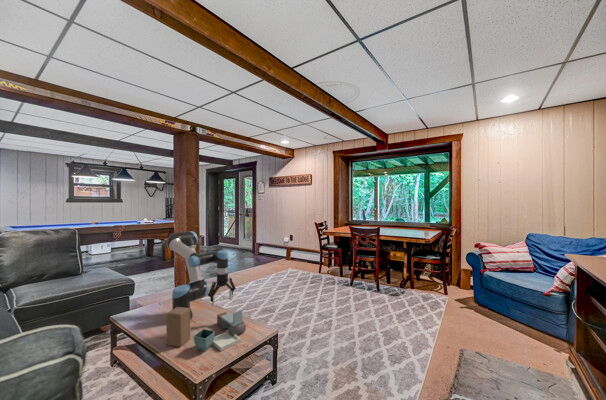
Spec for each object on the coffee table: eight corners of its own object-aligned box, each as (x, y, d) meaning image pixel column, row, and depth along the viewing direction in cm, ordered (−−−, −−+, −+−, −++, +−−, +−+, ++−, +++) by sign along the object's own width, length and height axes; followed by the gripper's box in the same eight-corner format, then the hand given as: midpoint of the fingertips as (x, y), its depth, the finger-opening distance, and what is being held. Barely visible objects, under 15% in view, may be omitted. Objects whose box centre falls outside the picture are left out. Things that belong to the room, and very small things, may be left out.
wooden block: (180, 347, 153) (180, 314, 152) (165, 345, 155) (165, 313, 154) (191, 338, 163) (190, 307, 162) (177, 336, 165) (176, 306, 164)
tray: (210, 342, 158) (210, 338, 158) (229, 333, 168) (229, 330, 168) (220, 351, 149) (220, 347, 149) (240, 341, 159) (240, 338, 159)
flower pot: (205, 354, 146) (205, 338, 146) (193, 351, 149) (193, 336, 149) (215, 345, 155) (215, 331, 155) (203, 343, 158) (203, 328, 157)
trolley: (218, 327, 175) (218, 305, 175) (230, 323, 182) (230, 301, 182) (233, 338, 162) (233, 314, 162) (245, 333, 169) (245, 310, 168)
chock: (217, 324, 180) (217, 314, 180) (224, 321, 185) (224, 311, 184) (220, 327, 177) (220, 317, 177) (228, 323, 181) (228, 314, 181)
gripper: (207, 278, 168) (207, 310, 169) (240, 270, 186) (240, 299, 187) (202, 275, 174) (202, 306, 174) (235, 268, 192) (234, 296, 192)
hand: (222, 302), depth 181 cm, fingers open, 13 cm apart
